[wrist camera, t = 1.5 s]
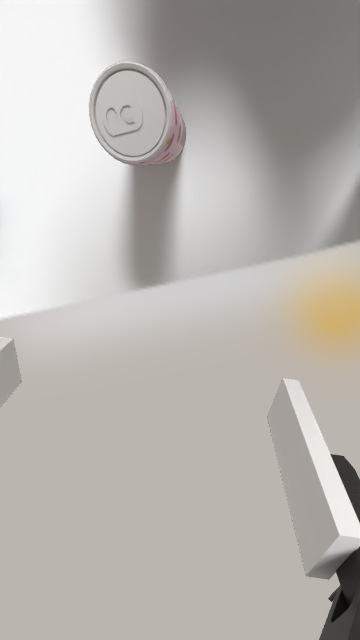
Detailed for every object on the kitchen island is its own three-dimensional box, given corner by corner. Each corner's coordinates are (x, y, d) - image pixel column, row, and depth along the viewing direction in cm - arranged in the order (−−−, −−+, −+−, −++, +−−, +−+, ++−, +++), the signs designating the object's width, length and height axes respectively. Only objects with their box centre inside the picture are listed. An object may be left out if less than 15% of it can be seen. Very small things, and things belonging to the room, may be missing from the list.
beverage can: (123, 128, 31) (66, 105, 18) (164, 87, 29) (133, 28, 16) (156, 175, 33) (126, 184, 20) (196, 140, 31) (192, 125, 18)
